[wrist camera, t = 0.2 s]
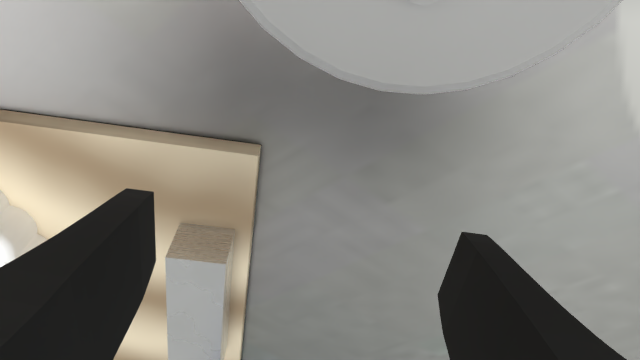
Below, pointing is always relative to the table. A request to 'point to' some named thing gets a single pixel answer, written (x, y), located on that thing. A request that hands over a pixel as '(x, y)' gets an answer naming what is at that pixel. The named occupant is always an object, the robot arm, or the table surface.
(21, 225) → the mooncake
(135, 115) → the table surface
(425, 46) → the canned food
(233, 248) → the wooden cutting board
